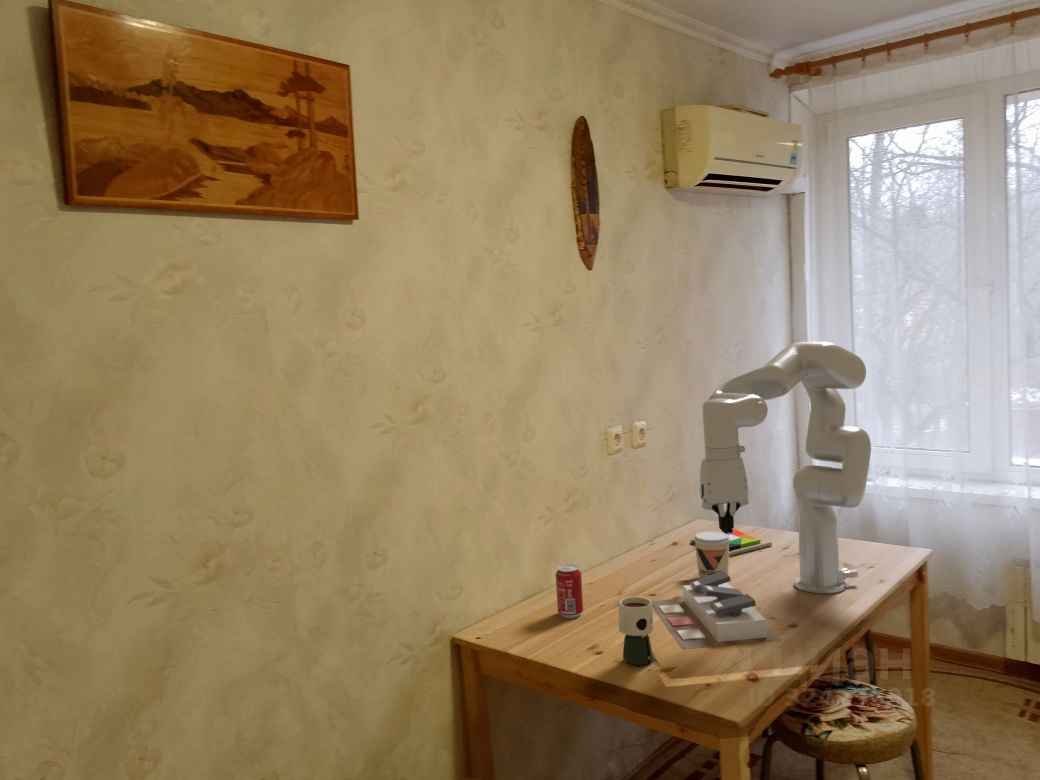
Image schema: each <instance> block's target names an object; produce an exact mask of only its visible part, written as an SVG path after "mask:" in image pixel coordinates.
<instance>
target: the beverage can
mask: <svg viewBox="0 0 1040 780" xmlns="http://www.w3.org/2000/svg"><path fill="white" fill-rule="evenodd" d="M582 582H583V581H582V571H580V569H579V566H578V565H577V564H576V565H575V564H564V565H563V564H562V565H560V566H558V567H557V571H556V573H555V585H556V601H557V602H556V603H557V604H556V605H557V613H558V614H559V615H561V617H562V618H564V619H574V618H575V619H576V618H579V617H580V616H581V614H582V613H583V611H584V603H583V602H584V601H583V600H584V599H583V585H582V584H583V583H582Z"/></svg>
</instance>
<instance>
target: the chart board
mask: <svg viewBox="0 0 1040 780" xmlns="http://www.w3.org/2000/svg"><path fill="white" fill-rule="evenodd" d="M651 601H652V608H653V611H655V613H656V614H657V616H658V617H659V618H660V620H661V621H662V623H663V624H664V625H665V627H666V629H667V630H668V631H669V633H670V634H671V636H672V637H673V639H674V640H675V641H676V643H677V644H678V645H679V647H680V648H681V650H690V649H702V648H703V649H704V648H711V647H720V646H721V647H722V646H732V645H733V646H734V645H743V644H745V645H746V644H753V643H755V644H756V643H763V642H764V643H766V642H775V641H782V639H781V638H780V636H779V635H777V634H776V633H775V632H774V631H773V630H772V629H771V628H770V627H769V626H768V625H767V624H766V632H767V637H765V638H754V639H744V640H733V641H723V642H717V640H716V639H715V638H714V637H713V636H712V634H711V633H710V632H709V631H708V630H707V628H706V627H705V626H704V625H703V624H702V622H701V621H700V620H699V619H698V618H697V616H696V615H695V614H694V613H693V612H692V610H691V609H690V608H689V607H688V606H687V604H686V603H685V602H684V597H683V598H672V599H661V600H660V599H659V600H651Z"/></svg>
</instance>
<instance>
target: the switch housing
mask: <svg viewBox="0 0 1040 780" xmlns="http://www.w3.org/2000/svg"><path fill="white" fill-rule="evenodd" d="M682 586H683V587H682V588H683V598H684V602H685V603H686V604H687V606H688V607H689V608H690V609H691V610H692V612H693V613H694V614H695V615H696V616H697V618H698V619H699V620H700V621H701V622H702V624H703V625H704V626H705V627H706V628H707V630H708V631H709V632H710V633H711V634H712V636H713V637H714V638H715V639H716V640H717V642H723V641H733V640H744V639H754V638H765V637H767V632H766V625H767V619H766V618H765V617H764V616H763V615H762V613H760V612H759V611H758V610H757V609H755V608H754V606H753V607H749V608H744V609H742V613H741V615H740V616H737V617H735V616H733V615H732V614H731V613H730V612H728V613H724V614H720V615H717V614H716V613H715V612H714V611H713V610H712V609H711V606H710V603H713V602H717V601H719V600H718V599H717V598H716V597H712V596H706V595H705V594H704V593H703V592H702V591H700V592H697V593H696V592H695V591H694V590H693V589H692V588H691V587H690V584H685V585H682ZM718 587H725V588H733V587H732V586H731V585H730V584H729V583H728V582H726V583H724V584H721V585H718Z"/></svg>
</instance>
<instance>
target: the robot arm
mask: <svg viewBox="0 0 1040 780" xmlns="http://www.w3.org/2000/svg"><path fill="white" fill-rule="evenodd" d="M866 376H867V368H866V365H865V362H864V360H863V359H862V358H861V357H860V356H859V355H857V354H856V353H854V352H853V351H852V352H851V351H850V350H847V349H846V348H844V347H842V346H840V345H838V344H835V343H832V342H828V341H796V342H793V343H790V344H789V345H787V346H786V347H785V348H783V349H782V350H781V351H779V352H778V354H776V355H775V356H773V358H771V359H770V360H769V361H768V362H767V363H765V364H764V365H763V366H762V367H760V368H759V367H758V368H756V369H754V370H750V371H748V372H746V373H744V374H741V375H739V376H735V377H733V378H731V379H729V380H728V381H726V382H724V383H723V384H721V386H719V387H718V388H717V389H715V390H714V391H713V392H712V393H711V394H710V396H709V397H708V399H707V400H705V401H704V402H703V404H702V421H703V436H704V454H705V455H704V456H705V457H704V459H701V465H700V473H699V477H700V478H699V496H700V499H701V500H702V503H701V508H702V509H704V510H709V511H714V512H715V513H716V514H717V516H718V517H717V518H718V528H719V530H720V531H722V532H724V533H725V534H728V533H732V529H733V528H734V529H735V521H734V520H735V519H734V517H735V515H736V513H737V511H738V510H739V509H740V508H741V507H745V506H746V505H749V501H750V500H749V498H748V497H749V486H748V479H747V473H746V472H747V471H746V467H745V464H744V463H745V462H744V461H743V457H741V453H745V452H746V447H745V446H744V445H740V442H739V429H740V428H753V427H756V426H759V425H760V424H762V423H763V422H764V421H765V420H766V418H767V415H768V412H769V411H768V405H767V402H766V401H769V400H773V399H778V398H780V397H784V396H785V395H787V394H788V393H789V392H790V391H791V390H793V388H794V387H796V386H797V385H798V383H802V385H803V388H804V389H805V391H806V393H807V395H808V398H809V403H810V412H809V420H808V424H807V425H808V426H807V433H806V439H805V452H806V454H807V456H808V457H809V458H810V459H813V460H816V461H821V462H829V463H836V464H842V467H841V468H837V467H832V466H826V465H825V466H823V465H814V464H813V465H812V464H811V465H805V466H802V467H800V468H799V469H797V470H796V471H795V473H794V475H793V478H792V479H793V481H792V485H793V493H794V496H795V501H796V505H797V515H798V519H797V520H798V551H799V552H798V553H799V556H798V557H799V575H798V576H797V577H795V578H794V580H793V585H794V587H795V588H797V589H798V590H801V591H803V592H807V593H813V594H835V593H840V592H843V591H844V590H845V589H846V587H847V585H846V582H845V580H846V579H853V578H858V576H859V574H858V571H857V570H856V569H850V570H849V569H848V568H840V566H839V565H840V564H839V563H840V561H839V558H840V557H839V528H838V527H839V523H838V521H839V520H838V517H837V514H836V512H835V510H834V508H833V506H834V507H838V508H844V509H845V508H846V509H853V508H856V507H858V506H860V505H861V503H862V502H863V500H864V497H865V492H866V489H867V482H868V475H869V468H870V462H871V453H872V442H871V439H870V436H869V434H868V433H867V431H866V430H864V429H863V428H861V427H857V426H848V425H845V419H846V410H847V408H846V404H845V402H844V399H843V397H842V395H841V394H840V393H839V391H838V390H854V389H857V388H859V387H861V386H862V385H863V383H864V382H865V380H866ZM724 504H726V505H725V507H726V508H725V507H724Z"/></svg>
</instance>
